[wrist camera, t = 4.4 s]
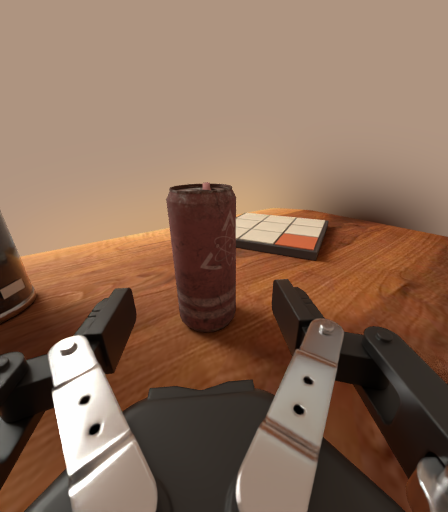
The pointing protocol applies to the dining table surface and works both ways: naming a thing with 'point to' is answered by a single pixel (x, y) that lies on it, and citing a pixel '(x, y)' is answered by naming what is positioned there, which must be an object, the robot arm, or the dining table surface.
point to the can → (204, 253)
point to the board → (280, 235)
